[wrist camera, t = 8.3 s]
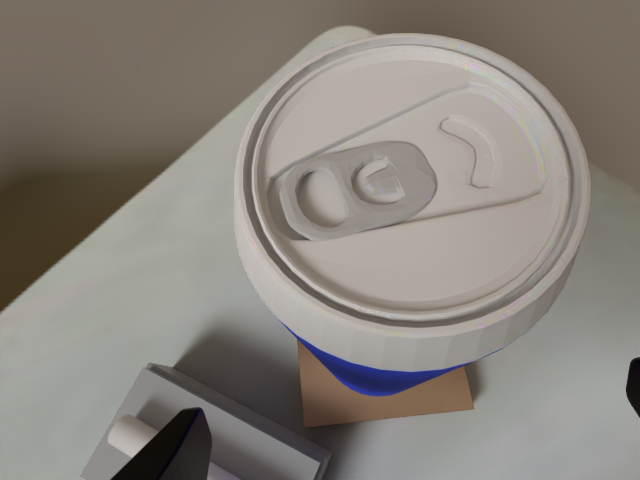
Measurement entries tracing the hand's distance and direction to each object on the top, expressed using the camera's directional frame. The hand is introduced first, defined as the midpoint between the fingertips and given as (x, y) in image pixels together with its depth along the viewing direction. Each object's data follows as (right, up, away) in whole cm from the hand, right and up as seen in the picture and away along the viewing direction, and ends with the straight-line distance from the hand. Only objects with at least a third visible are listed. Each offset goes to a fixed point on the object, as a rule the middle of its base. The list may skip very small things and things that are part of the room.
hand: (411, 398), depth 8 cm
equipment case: (-7, -7, +10) cm, 14 cm away
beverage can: (+1, -1, +11) cm, 11 cm away
